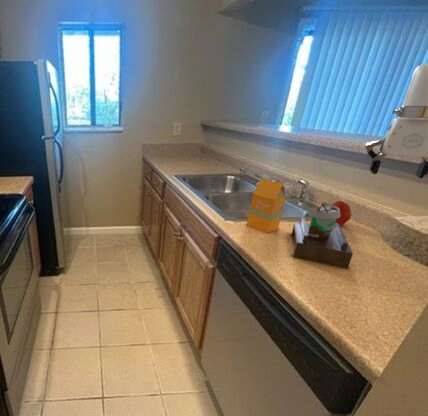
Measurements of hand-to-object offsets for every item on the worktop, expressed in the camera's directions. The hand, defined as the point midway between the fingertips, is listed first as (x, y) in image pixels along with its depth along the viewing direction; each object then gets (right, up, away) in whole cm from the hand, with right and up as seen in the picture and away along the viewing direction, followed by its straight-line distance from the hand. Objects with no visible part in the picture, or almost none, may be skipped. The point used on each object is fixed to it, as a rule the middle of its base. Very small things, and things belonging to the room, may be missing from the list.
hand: (395, 175), depth 80 cm
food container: (-12, -19, +13) cm, 26 cm away
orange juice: (-20, -18, +33) cm, 43 cm away
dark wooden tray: (-12, -25, +15) cm, 31 cm away
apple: (+12, -17, +35) cm, 41 cm away
